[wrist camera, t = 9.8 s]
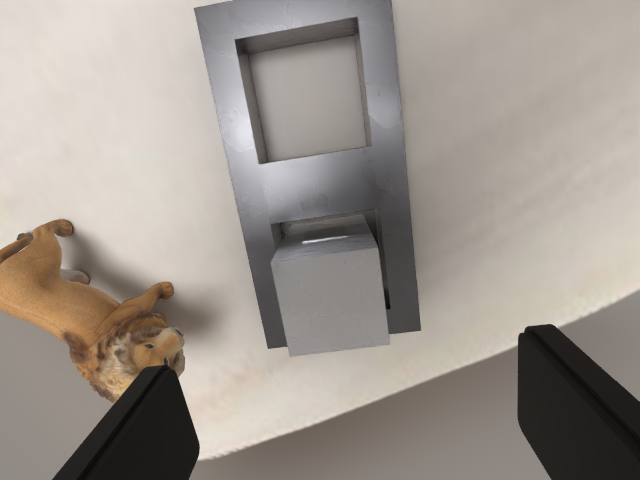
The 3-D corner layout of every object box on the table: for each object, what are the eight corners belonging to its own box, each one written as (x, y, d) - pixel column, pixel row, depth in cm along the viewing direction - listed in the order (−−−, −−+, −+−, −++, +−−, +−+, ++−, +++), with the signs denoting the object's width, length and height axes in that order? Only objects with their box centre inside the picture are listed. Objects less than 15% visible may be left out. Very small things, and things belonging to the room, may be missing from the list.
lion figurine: (229, 292, 25) (176, 369, 17) (202, 349, 27) (140, 448, 18) (34, 202, 24) (-134, 234, 15) (16, 267, 25) (-148, 330, 17)
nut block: (362, 213, 24) (378, 246, 16) (371, 283, 25) (389, 345, 17) (290, 224, 24) (270, 261, 16) (302, 292, 25) (289, 357, 17)
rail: (380, -5, 20) (388, -30, 17) (410, 309, 25) (420, 330, 22) (213, 27, 21) (193, 8, 18) (275, 326, 26) (267, 348, 23)
